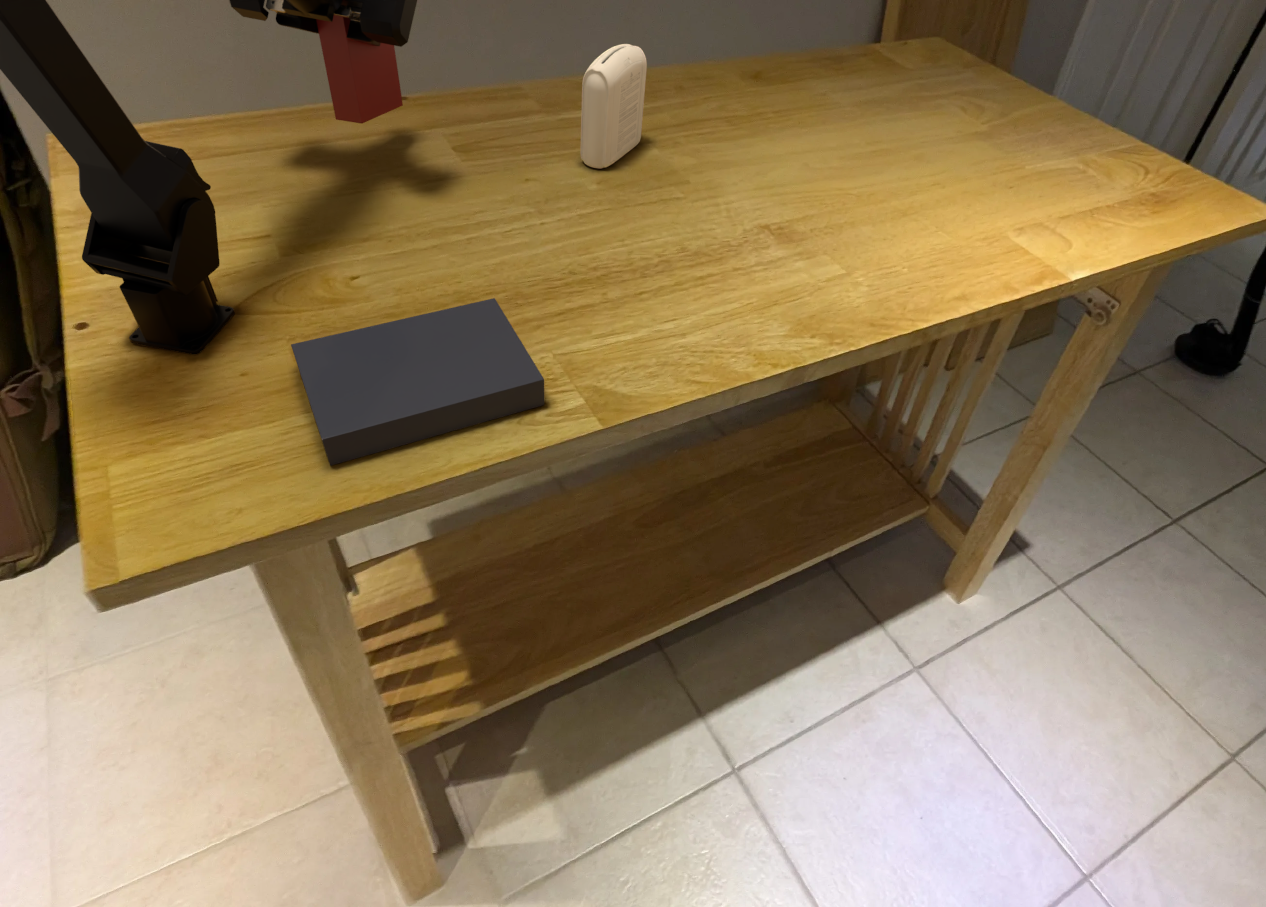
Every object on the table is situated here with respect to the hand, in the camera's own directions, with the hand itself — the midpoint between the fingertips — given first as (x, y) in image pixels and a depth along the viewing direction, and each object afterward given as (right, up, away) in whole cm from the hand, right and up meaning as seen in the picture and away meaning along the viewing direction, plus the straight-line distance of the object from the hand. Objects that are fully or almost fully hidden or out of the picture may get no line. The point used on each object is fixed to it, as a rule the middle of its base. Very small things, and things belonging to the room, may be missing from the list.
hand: (362, 38), depth 87 cm
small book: (0, -6, +4) cm, 8 cm away
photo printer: (+27, -8, +13) cm, 31 cm away
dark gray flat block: (+11, -40, -18) cm, 45 cm away
